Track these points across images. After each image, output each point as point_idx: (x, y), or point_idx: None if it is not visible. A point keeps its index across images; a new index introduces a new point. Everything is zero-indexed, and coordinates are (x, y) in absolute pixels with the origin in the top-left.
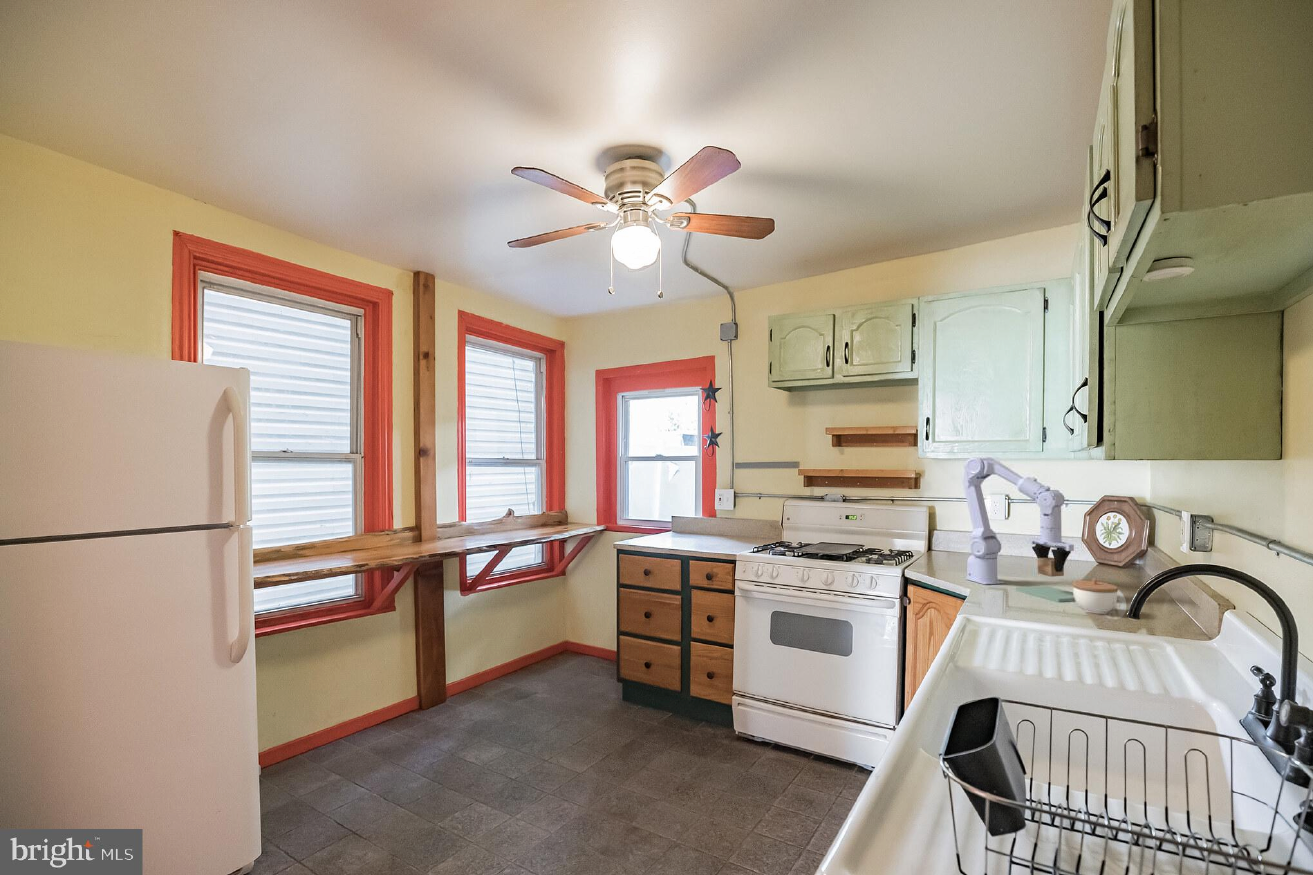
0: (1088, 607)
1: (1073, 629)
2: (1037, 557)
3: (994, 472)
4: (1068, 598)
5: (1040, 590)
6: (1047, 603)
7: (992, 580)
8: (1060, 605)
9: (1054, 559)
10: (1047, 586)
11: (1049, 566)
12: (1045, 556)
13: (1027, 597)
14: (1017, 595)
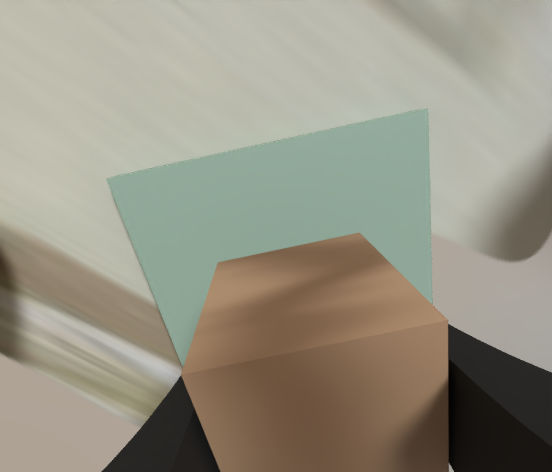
0: None
1: None
2: (504, 355)
3: None
4: (135, 248)
5: (325, 214)
6: (71, 81)
7: None
8: (30, 132)
9: (175, 439)
10: None
11: (224, 309)
12: (466, 459)
13: (230, 53)
14: (287, 16)
